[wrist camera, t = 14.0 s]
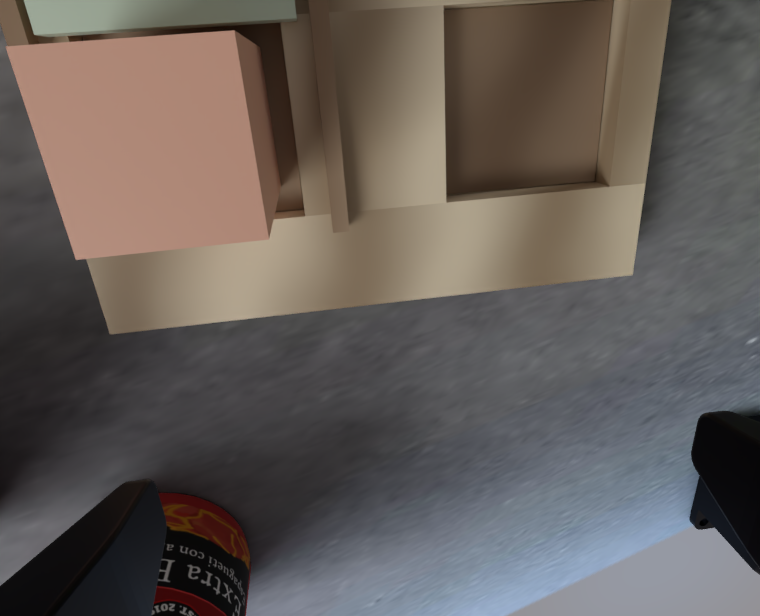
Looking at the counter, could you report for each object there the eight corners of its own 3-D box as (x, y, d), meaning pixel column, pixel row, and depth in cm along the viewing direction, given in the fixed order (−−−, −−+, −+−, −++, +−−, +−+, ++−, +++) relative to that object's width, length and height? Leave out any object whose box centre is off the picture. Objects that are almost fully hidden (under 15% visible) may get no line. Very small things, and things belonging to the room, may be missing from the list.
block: (260, 47, 15) (234, 29, 10) (281, 186, 17) (269, 239, 11) (116, 57, 15) (5, 46, 9) (152, 199, 16) (75, 260, 11)
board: (653, -169, 15) (717, -215, 13) (603, 257, 20) (642, 280, 18) (-5, -148, 13) (-71, -196, 11) (128, 309, 19) (103, 342, 16)
